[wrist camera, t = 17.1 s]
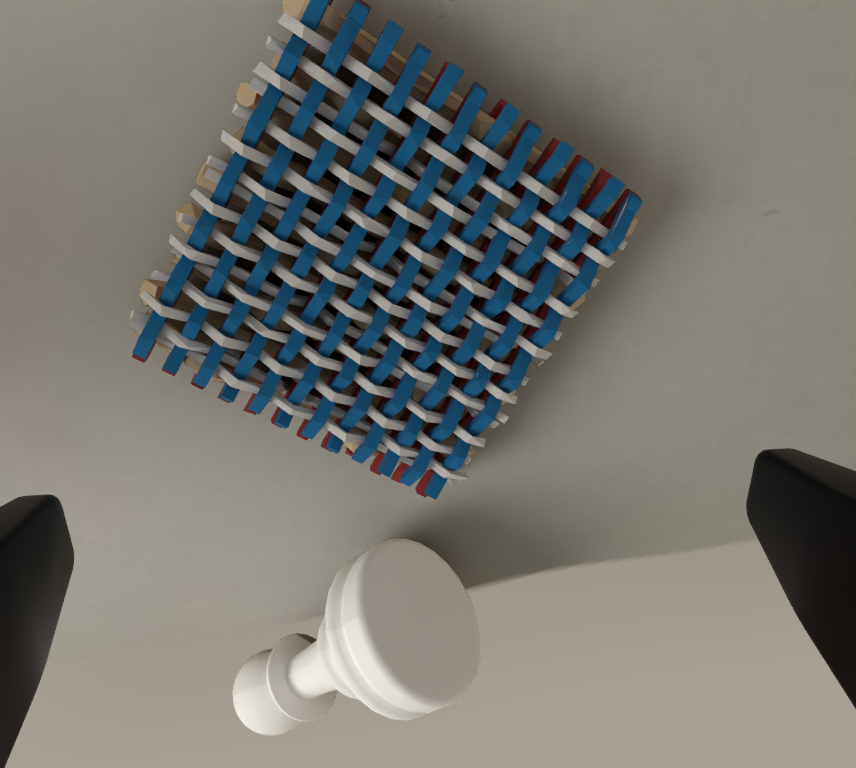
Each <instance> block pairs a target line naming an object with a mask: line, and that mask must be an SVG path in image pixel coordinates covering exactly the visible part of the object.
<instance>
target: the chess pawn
mask: <svg viewBox="0 0 856 768" xmlns="http://www.w3.org/2000/svg"><path fill="white" fill-rule="evenodd" d="M479 660H480V634H479V629H478V624H477V618H476V615H475V612H474V609H473V606H472V603H471V600H470V597H469V596H468V594H467V592H466V590H465V588H464V586H463V584H462V583H461V581H460V579H459V578H458V576H457V575H456V574H455V572H454V571H453V570H452V569H451V567H450V566H449V565H448V564H447V563H446V562H445V561H444V560H443V559H442V558H441V557H440V556H439V555H438V554H437V553H436V552H434V551H433V550H431V549H429V548H428V547H426V546H424V545H423V544H421V543H418V542H415V541H411V540H408V539H388V540H386V541H384V542H382V543H380V544H378V545H376V546H374V547H372V548H370V549H369V550H367V551H365V552H364V553H363V554H362V555H360V556H358V557H356V558H354V559H352V560H350V561H348V562H347V563H346V564H345V566H344V567H343V568H342V569H341V570H340V571H339V572H338V573H337V574H336V576H335V578H334V581H333V583H332V585H331V587H330V589H329V592H328V597H327V603H326V609H325V617H324V618H323V620H322V623H321V625H320V627H319V631H318V637H317V640H316V639H315V638H313V637H311V636H309V635H306V634H299V633H296V634H291V635H288V636H286V637H284V638H282V639H281V640H280V641H279V642H278V643H277V644H276V645H275V646H274V648H271V649H265V650H262V651H260V652H259V653H257V654H255V655H253V656H252V657H251V658H249V660H248V661H247V662H246V663H245V664H244V665H243V666H242V667H241V669H240V671H239V673H238V675H237V676H236V679H235V683H234V687H233V703H234V708H235V711H236V713H237V715H238V717H239V719H240V720H241V721H242V722H243V724H244V725H245V726H247V727H248V728H249V729H250V730H252V731H254V732H257V733H259V734H262V735H279V734H282V733H285V732H288V731H290V730H292V729H293V728H295V727H296V726H297V725H299V724H300V723H301V722H311V721H314V720H317V719H320V717H322V716H323V715H325V714H326V713H327V712H328V710H329V709H330V708H331V706H332V705H333V702H334V700H335V697H336V692H337V690H338V691H340V692H341V693H342V694H343V695H345V696H348V697H350V698H352V699H359V700H360V701H362V702H363V703H364V704H365V705H366V706H368V707H369V708H370V709H371V710H373V711H374V712H376V713H379V714H381V715H383V716H386V717H388V718H390V719H397V720H412V719H415V718H418V717H421V716H424V715H426V714H428V713H430V712H432V711H435V710H438V709H441V708H444V707H446V706H449V705H451V704H454V703H456V702H457V701H458V700H459V699H460V698H461V697H462V696H463V695H464V694H466V693H467V692H468V690H469V688H470V686H471V684H472V682H473V680H474V678H475V677H476V673H477V669H478V664H479Z"/></svg>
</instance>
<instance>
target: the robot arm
mask: <svg viewBox="0 0 856 768" xmlns="http://www.w3.org/2000/svg"><path fill="white" fill-rule="evenodd" d="M746 509H747V515H748V519H749V521H750V524H751V526H752V528H753V530H754V532H755V534H756V536H757V538H758V540H759V542H760V544H761V546H762V548H763V550H764V552H765V554H766V556H767V558H768V560H769V562H770V564H771V566H772V568H773V570H774V572H775V574H776V576H777V578H778V580H779V582H780V584H781V586H782V588H783V590H784V592H785V594H786V596H787V598H788V600H789V602H790V604H791V605H792V607H793V609H794V611H795V613H796V615H797V616H798V618H799V620H800V622H801V623H802V625H803V627H804V628H805V630H806V631H807V633H808V635H809V636H810V638H811V639H812V641H813V643H814V644H815V646H816V647H817V649H818V650H819V652H820V654H821V655H822V657H823V658H824V660H825V661H826V663H827V664H828V666H829V668H830V669H831V671H832V672H833V674H834V675H835V677H836V679H837V680H838V682H839V683H840V685H841V686H842V688H843V690H844V691H845V693H846V694H847V696H848V697H849V699H850V701H851V702H852V704H853V705H854V707H855V708H856V471H854V470H851V469H848V468H845V467H843V466H840V465H837V464H834V463H831V462H829V461H826V460H823V459H820V458H818V457H815V456H812V455H809V454H806V453H804V452H801V451H798V450H795V449H789V448H785V449H770V450H763V451H762V452H760V453H759V454H758V456H757V457H756V460H755V463H754V468H753V473H752V478H751V483H750V488H749V492H748V497H747V504H746ZM73 565H74V550H73V546H72V542H71V538H70V534H69V531H68V527H67V523H66V519H65V516H64V512H63V508H62V505H61V503H60V501H59V499H58V498H57V497H55V496H54V495H32V496H22V497H18V498H16V499H14V500H12V501H10V502H8V503H7V504H5V505H3V506H1V507H0V768H4V767H5V765H6V763H7V760H8V758H9V755H10V753H11V751H12V748H13V746H14V743H15V741H16V739H17V736H18V734H19V731H20V729H21V727H22V724H23V722H24V719H25V717H26V715H27V712H28V710H29V707H30V705H31V702H32V700H33V697H34V695H35V693H36V690H37V687H38V685H39V682H40V680H41V677H42V674H43V670H44V667H45V664H46V661H47V658H48V654H49V651H50V647H51V644H52V640H53V637H54V633H55V630H56V626H57V623H58V619H59V616H60V612H61V609H62V605H63V602H64V598H65V595H66V591H67V588H68V584H69V581H70V577H71V574H72V570H73Z"/></svg>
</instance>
